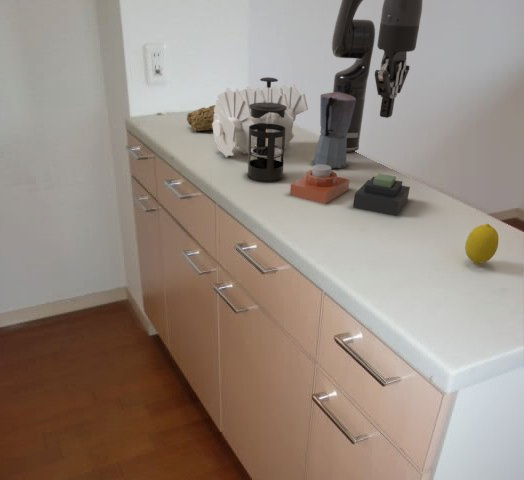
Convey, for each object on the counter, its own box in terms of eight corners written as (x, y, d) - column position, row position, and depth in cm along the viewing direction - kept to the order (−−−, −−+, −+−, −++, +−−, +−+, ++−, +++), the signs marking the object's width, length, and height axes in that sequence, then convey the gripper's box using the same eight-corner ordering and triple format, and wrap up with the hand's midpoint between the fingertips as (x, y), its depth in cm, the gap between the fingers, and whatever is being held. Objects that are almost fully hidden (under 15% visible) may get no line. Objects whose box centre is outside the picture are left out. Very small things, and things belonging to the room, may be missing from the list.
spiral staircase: (211, 168, 158) (282, 152, 169) (239, 155, 143) (315, 139, 154) (193, 101, 154) (268, 89, 164) (220, 81, 138) (300, 70, 149)
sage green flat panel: (377, 180, 127) (378, 173, 126) (394, 183, 126) (395, 176, 125) (372, 185, 124) (374, 178, 123) (390, 188, 123) (391, 181, 122)
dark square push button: (366, 193, 133) (369, 172, 131) (407, 201, 130) (411, 180, 127) (352, 208, 125) (355, 186, 122) (396, 216, 122) (400, 194, 119)
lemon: (456, 257, 106) (466, 218, 101) (484, 257, 106) (495, 218, 101) (467, 271, 101) (478, 230, 96) (496, 270, 102) (509, 230, 97)
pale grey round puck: (317, 171, 133) (318, 163, 132) (333, 175, 131) (334, 166, 130) (308, 176, 130) (309, 167, 129) (325, 180, 128) (325, 171, 127)
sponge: (198, 138, 173) (255, 121, 177) (190, 112, 169) (249, 95, 173) (187, 136, 184) (241, 119, 188) (180, 111, 180) (236, 95, 184)
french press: (288, 182, 138) (295, 82, 125) (252, 184, 136) (254, 82, 122) (276, 168, 147) (281, 73, 134) (242, 169, 145) (243, 73, 132)
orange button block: (314, 182, 139) (315, 164, 136) (348, 190, 135) (350, 171, 132) (289, 195, 131) (291, 176, 128) (325, 204, 127) (327, 184, 124)
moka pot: (352, 160, 156) (362, 82, 144) (341, 176, 144) (350, 93, 132) (320, 155, 158) (327, 79, 146) (305, 171, 146) (312, 89, 134)
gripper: (405, 25, 101) (389, 125, 111) (430, 22, 110) (413, 114, 120) (368, 22, 104) (356, 119, 114) (395, 19, 113) (381, 109, 123)
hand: (385, 116), depth 117 cm, fingers closed
